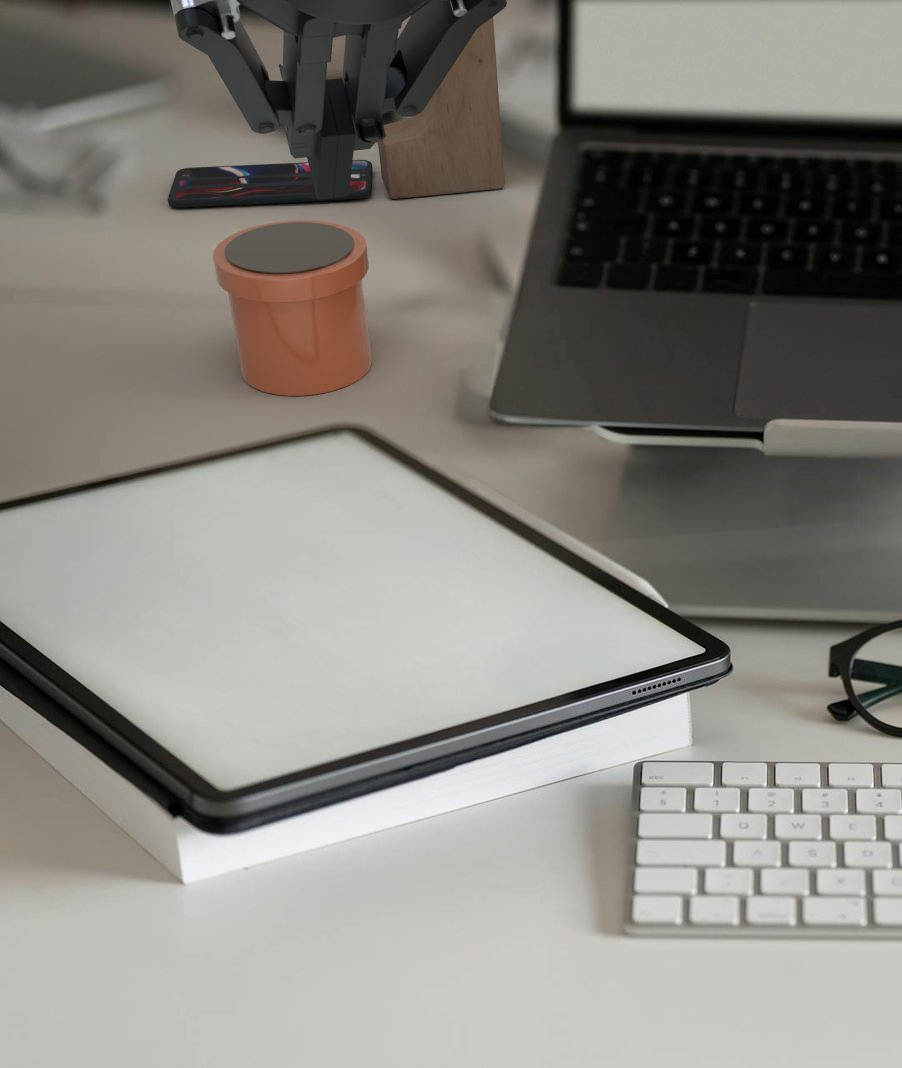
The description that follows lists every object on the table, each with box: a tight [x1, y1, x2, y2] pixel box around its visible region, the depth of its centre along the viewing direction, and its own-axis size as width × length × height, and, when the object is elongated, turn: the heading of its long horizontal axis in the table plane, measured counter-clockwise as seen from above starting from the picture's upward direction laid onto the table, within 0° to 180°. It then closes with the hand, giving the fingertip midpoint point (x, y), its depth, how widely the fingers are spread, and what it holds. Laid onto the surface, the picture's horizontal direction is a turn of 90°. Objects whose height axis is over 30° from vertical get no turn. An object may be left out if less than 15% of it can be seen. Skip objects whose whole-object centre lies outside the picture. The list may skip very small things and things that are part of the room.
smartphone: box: [167, 159, 374, 209], centre depth 132 cm, size 7×1×15 cm
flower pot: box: [212, 219, 373, 397], centre depth 105 cm, size 9×9×8 cm
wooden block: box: [377, 16, 506, 200], centre depth 129 cm, size 9×4×18 cm, turn 109°
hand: (326, 171), depth 81 cm, fingers closed
